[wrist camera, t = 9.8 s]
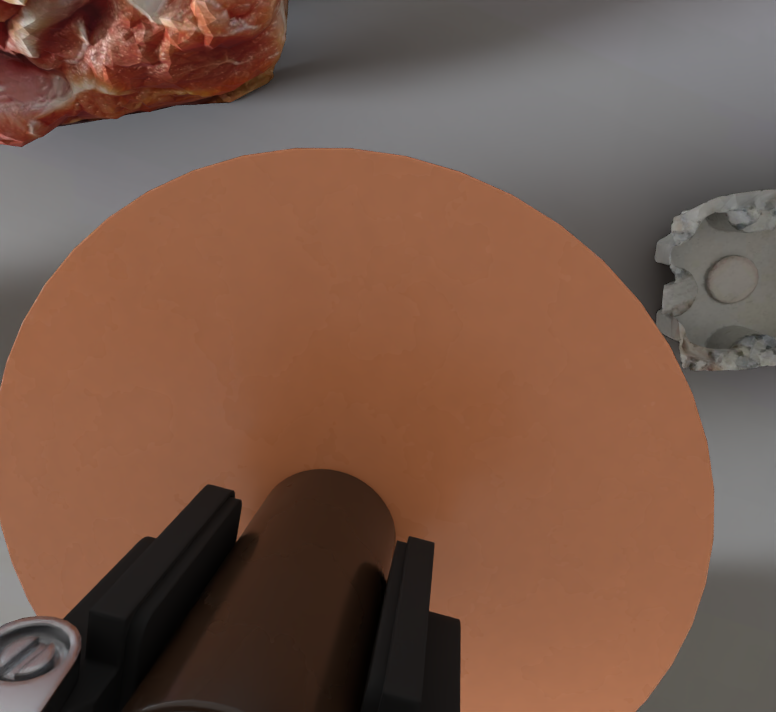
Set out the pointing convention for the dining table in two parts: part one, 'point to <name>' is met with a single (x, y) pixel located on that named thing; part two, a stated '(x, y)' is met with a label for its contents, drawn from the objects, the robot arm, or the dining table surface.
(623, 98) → the dining table surface
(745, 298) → the egg carton
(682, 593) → the lid
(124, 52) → the meat
